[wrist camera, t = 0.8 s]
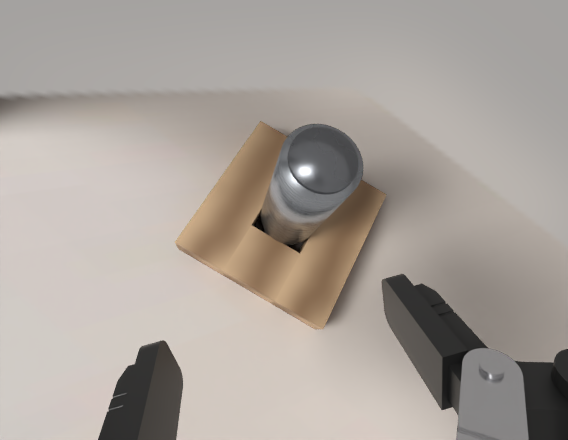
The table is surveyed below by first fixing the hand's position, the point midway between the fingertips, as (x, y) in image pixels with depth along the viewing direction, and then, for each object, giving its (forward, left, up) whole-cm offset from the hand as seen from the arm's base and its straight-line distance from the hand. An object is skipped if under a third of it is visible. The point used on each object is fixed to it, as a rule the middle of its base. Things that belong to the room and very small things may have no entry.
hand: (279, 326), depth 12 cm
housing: (-2, +11, -22) cm, 25 cm away
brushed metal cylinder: (-2, +11, -22) cm, 25 cm away
